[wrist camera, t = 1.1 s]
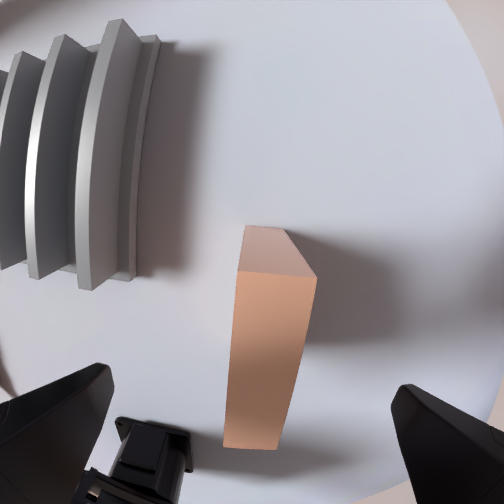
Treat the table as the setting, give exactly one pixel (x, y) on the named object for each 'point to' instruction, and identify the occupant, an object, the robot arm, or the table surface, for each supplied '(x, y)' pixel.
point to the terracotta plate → (266, 337)
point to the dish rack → (75, 155)
